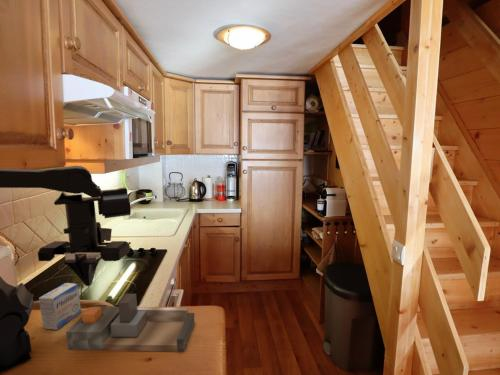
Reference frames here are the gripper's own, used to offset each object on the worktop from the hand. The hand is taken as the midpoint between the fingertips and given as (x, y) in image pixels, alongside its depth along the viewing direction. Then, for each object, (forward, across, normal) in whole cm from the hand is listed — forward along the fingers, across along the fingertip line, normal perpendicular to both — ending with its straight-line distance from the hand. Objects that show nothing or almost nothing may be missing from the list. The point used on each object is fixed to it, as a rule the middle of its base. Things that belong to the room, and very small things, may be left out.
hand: (88, 285), depth 67 cm
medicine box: (+13, +12, -6) cm, 19 cm away
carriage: (+11, -9, 0) cm, 14 cm away
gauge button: (+10, 0, 0) cm, 10 cm away
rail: (+13, -10, 0) cm, 17 cm away
